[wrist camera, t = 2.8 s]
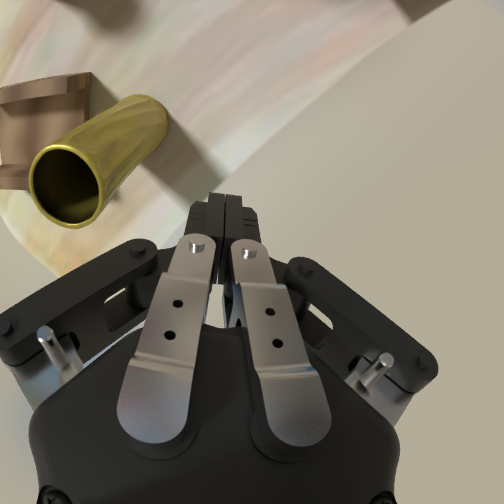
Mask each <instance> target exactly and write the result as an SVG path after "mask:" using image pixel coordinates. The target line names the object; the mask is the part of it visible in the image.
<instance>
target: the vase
mask: <svg viewBox="0 0 504 504" xmlns="http://www.w3.org/2000/svg"><path fill="white" fill-rule="evenodd" d="M167 127H168V120H167V115H166V112H165V110H164V108H163V107H162V106H161V104H160V103H159V102H157V101H156V100H155V99H153V98H151V97H149V96H146V95H131V96H128V97H126V98H124V99H122V100H121V101H120V102H118V103H117V104H116V105H115V106H113V107H111V108H109V109H107V110H106V111H104V112H102V113H100V114H99V115H97V116H95V117H94V118H92V119H90V120H88V121H86V122H85V123H83V124H81V125H79V126H78V127H76V128H75V129H73V130H71V131H70V132H68V133H66V134H65V135H63V136H61V137H60V138H58V139H57V140H55V141H53V142H52V143H50V144H49V145H47V146H46V147H44V148H43V149H42V150H41V151H40V152H39V153H38V154H37V155H36V157H35V158H34V160H33V163H32V165H31V168H30V172H29V188H30V193H31V196H32V198H33V200H34V202H35V204H36V206H37V208H38V209H39V211H40V212H41V213H42V214H43V215H44V216H45V217H46V218H48V219H49V220H50V221H52V222H54V223H56V224H58V225H60V226H62V227H65V228H70V229H79V228H82V227H84V226H87V225H89V224H91V223H92V222H94V221H95V220H96V218H97V217H98V216H99V215H100V214H101V212H102V211H103V210H104V208H105V207H106V205H107V204H108V202H109V201H110V200H111V198H112V197H113V195H114V194H115V192H116V191H117V189H118V188H119V187H120V185H121V184H122V183H123V181H124V180H125V179H126V178H127V177H128V176H129V175H130V174H131V173H132V171H133V170H134V169H135V168H136V167H137V166H138V165H139V164H140V163H141V162H142V161H143V160H144V159H145V158H146V157H147V156H148V155H149V154H150V153H151V152H152V151H153V150H154V149H155V148H157V147H158V146H159V145H160V143H161V142H162V140H163V139H164V137H165V136H166V133H167Z"/></svg>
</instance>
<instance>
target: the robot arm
mask: <svg viewBox="0 0 504 504" xmlns="http://www.w3.org/2000/svg"><path fill="white" fill-rule="evenodd" d="M224 200H225V202H224ZM258 226H259V225H258V219H257V214H256V213H255V211H254V210H253V209H252V208H249V207H242V197H241V196H236V195H228V194H226V196H225V194H220V193H212V192H209V197H208V202H199V201H196V202H195V203H194V204H193V205H191V207H190V211H189V215H188V219H187V224H186V228H185V232H184V236H183V237H182V238H181V239H180V240H179V242H178V244H177V245H176V246H174V247H172V248H168V249H160V250H157V247H156V245H155V244H154V243H153V242H151V241H149V240H146V239H132V240H129V241H127V242H125V243H123V244H121V245H119V246H117V247H115V248H113V249H111V250H109V251H108V252H106V253H104V254H102V255H100V256H98V257H96V258H94V259H93V260H91V261H89V262H87V263H85V264H83V265H82V266H80V267H78V268H76V269H74V270H73V271H71V272H69V273H67V274H66V275H64V276H62V277H60V278H59V279H57V280H55V281H54V282H52V283H50V284H48V285H47V286H45V287H43V288H41V289H40V290H38V291H36V292H35V293H33V294H32V295H30V296H28V297H27V298H25V299H23V300H22V301H20V302H19V303H17V304H15V305H14V306H13V307H11V308H9V309H8V310H6V311H4V312H3V313H1V314H0V358H1V360H2V362H3V363H4V364H5V365H6V366H7V368H8V369H9V370H10V371H11V372H12V373H13V375H14V377H15V379H16V381H17V383H18V385H19V386H20V388H21V390H22V392H23V393H24V395H25V397H26V399H27V401H28V402H29V404H30V405H31V407H32V409H33V410H34V413H33V415H32V418H31V421H30V425H29V443H30V447H31V451H32V454H33V457H34V461H35V465H36V469H37V474H38V482H39V495H38V500H37V503H36V504H397V503H396V500H395V496H394V482H395V474H396V469H397V465H398V461H399V455H400V443H399V439H398V436H397V433H396V431H395V429H394V426H395V424H396V423H397V421H398V420H399V418H400V417H401V415H402V413H403V412H404V410H405V409H406V407H407V405H408V404H409V402H410V400H411V399H412V397H413V396H414V395H415V394H416V393H418V392H419V391H420V390H421V389H423V388H424V387H425V386H426V385H427V384H428V383H430V382H431V381H432V380H433V379H434V378H435V377H436V376H437V374H438V364H437V361H436V359H435V357H434V356H433V355H432V353H431V352H429V351H428V350H427V349H426V348H425V347H423V346H422V345H421V344H420V343H418V342H417V341H416V340H415V339H414V338H412V337H411V336H410V335H409V334H408V333H406V332H405V331H404V330H403V329H401V328H400V327H399V326H398V325H396V324H395V323H394V322H393V321H391V320H390V319H389V318H388V317H386V316H385V315H384V314H383V313H381V312H380V311H379V310H378V309H376V308H375V307H374V306H372V305H371V304H370V303H369V302H367V301H366V300H365V299H363V298H362V297H361V296H360V295H359V294H357V293H356V292H355V291H353V290H352V289H351V288H349V287H348V286H347V285H346V284H344V283H343V282H342V281H340V280H339V279H338V278H336V277H335V276H334V275H333V274H331V273H330V272H329V271H327V270H326V269H325V268H323V267H322V266H321V265H319V264H318V263H317V262H315V261H314V260H311V259H309V258H305V257H295V258H292V259H291V260H290V261H289V263H288V264H286V263H283V262H280V261H277V260H274V259H272V258H271V257H269V255H268V251H267V249H266V248H265V247H264V246H263V245H262V244H261V238H260V232H259V227H258ZM217 275H218V284H222V285H224V291H223V296H222V306H223V317H224V327H225V328H224V329H223V328H217V327H214V326H210V325H207V324H205V320H206V314H207V308H208V302H209V295H210V293H211V291H212V284H216V281H217ZM123 288H125V290H124V291H123V292H121V293H120V294H118V295H116V296H115V297H113V298H112V299H110V300H109V301H107V302H105V301H106V299H107V298H109V297H110V296H112V295H113V294H115V293H117V292H118V291H120V290H121V289H123ZM104 302H105V303H104ZM310 304H312V305H314V306H315V307H316V308H317V309H319V310H320V311H321V312H322V313H323V314H325V315H326V316H327V317H328V318H329V319H330V320H331V322H332V324H333V330H332V329H331V328H329V327H328V326H327V325H326V324H325V323H323V322H322V321H321V320H320V319H319V318H318V317H316V316H315V315H314V314H313V313H312V312H311V311H309V310H308V308H309V306H310ZM145 319H146V321H145V324H144V327H143V328H140V329H137V330H135V331H133V332H131V333H130V334H128V335H126V336H125V337H124V338H122V339H121V340H120V341H118V342H117V343H116V344H115V345H113V346H112V347H111V348H110V349H108V350H107V351H106V352H105V353H104V354H102V355H101V356H99V357H98V358H97V359H96V360H94V361H93V362H92V363H90V364H89V365H88V366H87V367H86V368H84V369H83V364H84V363H85V362H87V361H88V360H90V359H91V358H92V357H94V356H95V355H97V354H98V353H99V352H101V351H102V350H103V349H105V348H106V347H108V346H109V345H110V344H112V343H113V342H115V341H116V340H117V339H119V338H120V337H121V336H123V335H124V334H126V333H127V332H128V331H130V330H131V329H133V328H134V327H135V326H137V325H138V324H140V323H141V322H142V321H144V320H145Z"/></svg>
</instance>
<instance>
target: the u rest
mask: <svg viewBox="0 0 504 504" xmlns="http://www.w3.org/2000/svg"><path fill="white" fill-rule="evenodd" d="M90 73H91V72H86V73H76V74H68V75H61V76H54V77H48V78H42V79H37V80H32V81H27V82H22V83H18V84H14V85H10V86H6V87H2V88H0V151H1V158H2V165H1V166H0V189H10V190H30V188H29V172H30V168H31V165H32V163H33V160H34V158H35V157H36V155H37V154H38V153H39V152H40V151H41V150H42V149H43V148H44V147H46V146H47V145H49V144H50V143H52V142H53V141H55V140H57V139H58V138H60V137H61V136H63V135H65V134H66V133H68V132H70V131H71V130H73V129H75V128H76V127H78V126H79V125H81V124H83V123H85V122H86V121H88V120H89V89H90Z"/></svg>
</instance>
